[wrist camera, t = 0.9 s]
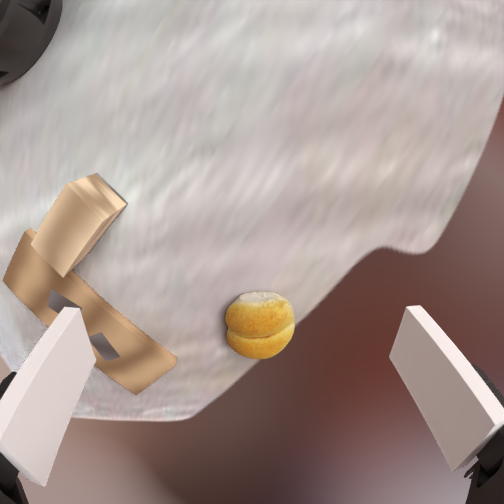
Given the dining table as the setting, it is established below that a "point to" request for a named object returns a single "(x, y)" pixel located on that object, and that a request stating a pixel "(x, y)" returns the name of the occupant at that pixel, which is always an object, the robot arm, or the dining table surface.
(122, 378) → the oak plank
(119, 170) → the dining table surface
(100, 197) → the block
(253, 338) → the bread roll
